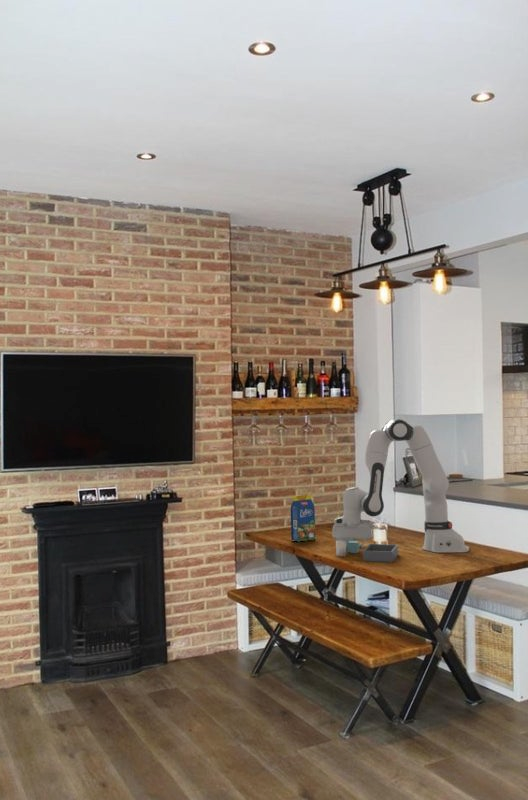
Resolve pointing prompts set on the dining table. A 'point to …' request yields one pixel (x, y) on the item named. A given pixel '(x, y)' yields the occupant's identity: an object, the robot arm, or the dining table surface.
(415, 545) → the dining table surface
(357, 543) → the block
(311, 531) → the blue food package
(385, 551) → the tote
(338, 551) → the canister
